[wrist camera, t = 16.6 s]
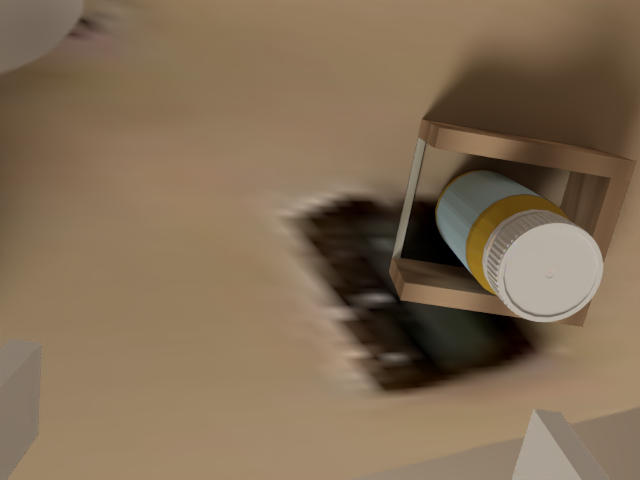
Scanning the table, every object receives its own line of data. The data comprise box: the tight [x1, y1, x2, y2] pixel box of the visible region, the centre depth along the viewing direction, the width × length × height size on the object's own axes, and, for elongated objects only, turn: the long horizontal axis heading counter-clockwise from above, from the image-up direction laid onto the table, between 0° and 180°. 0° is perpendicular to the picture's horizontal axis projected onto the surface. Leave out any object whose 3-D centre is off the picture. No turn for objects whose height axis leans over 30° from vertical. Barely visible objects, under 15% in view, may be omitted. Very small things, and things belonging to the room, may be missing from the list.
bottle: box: [435, 170, 603, 322], centre depth 41 cm, size 7×7×15 cm
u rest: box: [389, 119, 636, 327], centre depth 45 cm, size 14×13×6 cm
